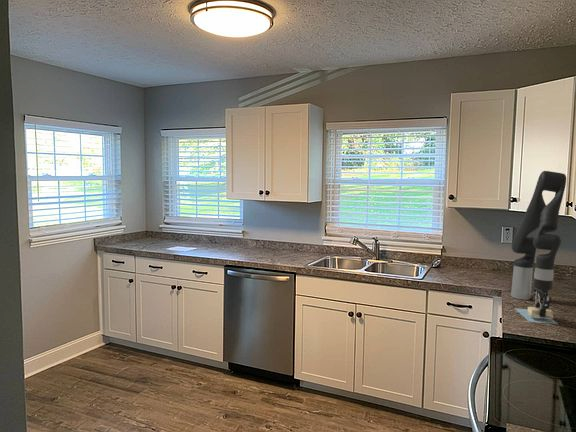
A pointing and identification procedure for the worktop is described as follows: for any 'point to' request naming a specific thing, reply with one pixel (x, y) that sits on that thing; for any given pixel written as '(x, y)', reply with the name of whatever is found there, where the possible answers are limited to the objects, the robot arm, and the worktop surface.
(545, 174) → the robot arm
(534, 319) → the mat
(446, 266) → the worktop surface
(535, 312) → the cream notched block
